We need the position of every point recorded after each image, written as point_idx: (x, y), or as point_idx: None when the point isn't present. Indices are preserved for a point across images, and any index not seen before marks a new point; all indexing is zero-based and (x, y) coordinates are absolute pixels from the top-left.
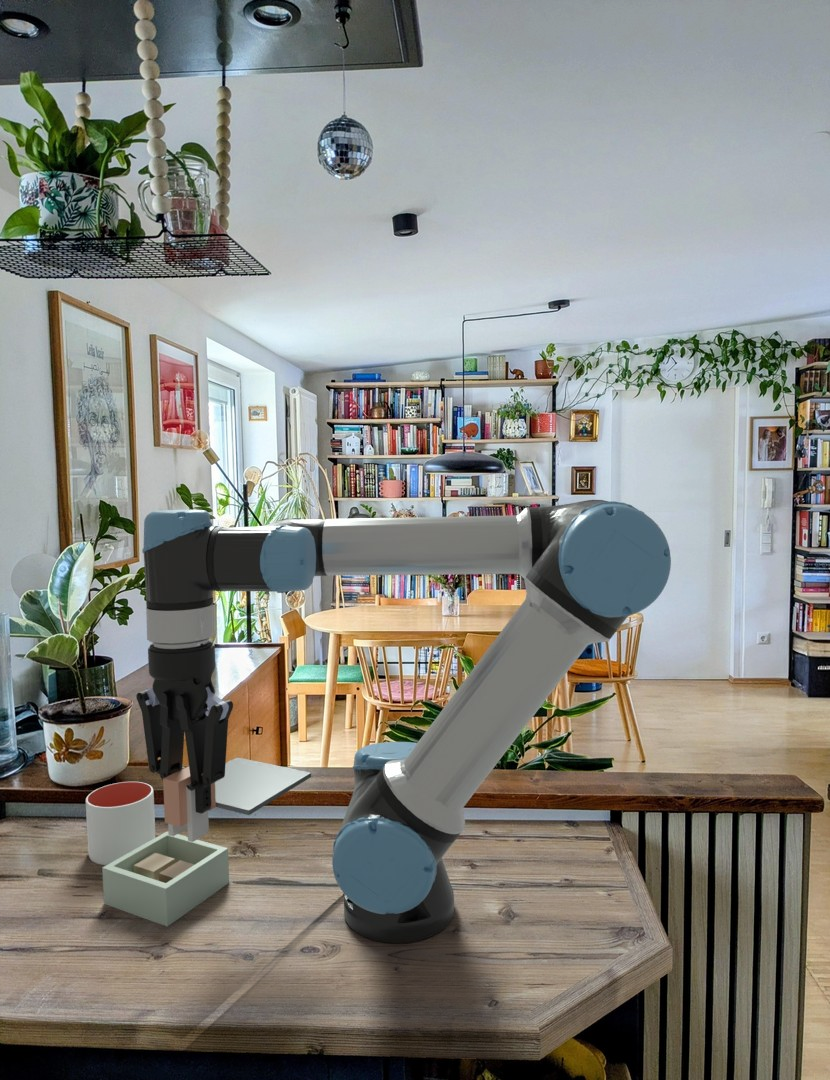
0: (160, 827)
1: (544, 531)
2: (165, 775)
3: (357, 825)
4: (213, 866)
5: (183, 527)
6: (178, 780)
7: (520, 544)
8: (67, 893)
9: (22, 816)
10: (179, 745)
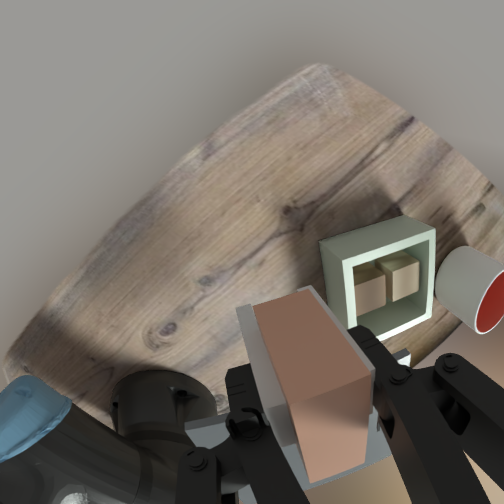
0: (454, 318)
1: None
2: (393, 382)
3: None
4: (344, 327)
5: None
6: (302, 409)
7: None
8: (447, 204)
9: None
10: (412, 487)
